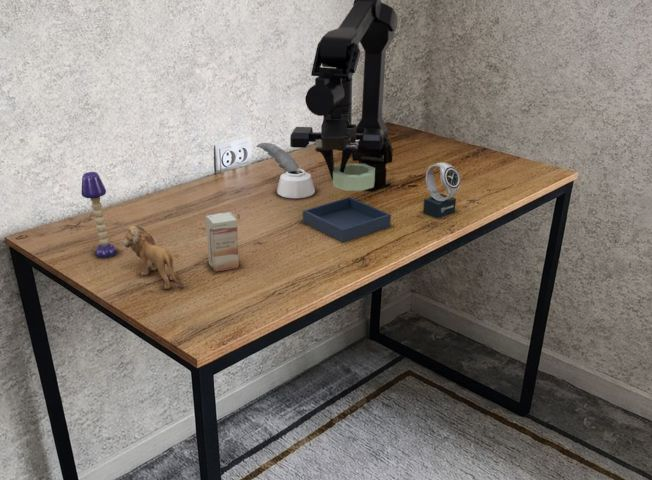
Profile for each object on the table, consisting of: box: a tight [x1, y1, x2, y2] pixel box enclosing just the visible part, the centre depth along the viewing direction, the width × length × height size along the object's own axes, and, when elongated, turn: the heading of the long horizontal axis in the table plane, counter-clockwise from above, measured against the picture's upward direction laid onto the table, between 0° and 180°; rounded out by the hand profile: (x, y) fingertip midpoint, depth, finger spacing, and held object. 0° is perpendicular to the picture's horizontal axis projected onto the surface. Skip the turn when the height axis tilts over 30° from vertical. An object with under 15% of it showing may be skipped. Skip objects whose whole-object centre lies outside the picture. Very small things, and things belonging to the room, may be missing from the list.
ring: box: [332, 162, 375, 192], centre depth 161 cm, size 8×8×3 cm
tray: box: [302, 196, 392, 243], centre depth 165 cm, size 14×13×3 cm
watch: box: [422, 161, 462, 219], centre depth 168 cm, size 6×8×11 cm
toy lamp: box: [80, 171, 118, 259], centre depth 151 cm, size 5×5×17 cm
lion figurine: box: [120, 225, 185, 290], centre depth 143 cm, size 15×5×9 cm, turn 50°
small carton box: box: [205, 211, 240, 272], centre depth 147 cm, size 5×4×10 cm
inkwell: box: [256, 142, 316, 200], centre depth 183 cm, size 9×18×10 cm, turn 48°
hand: (336, 178), depth 162 cm, fingers closed on ring
